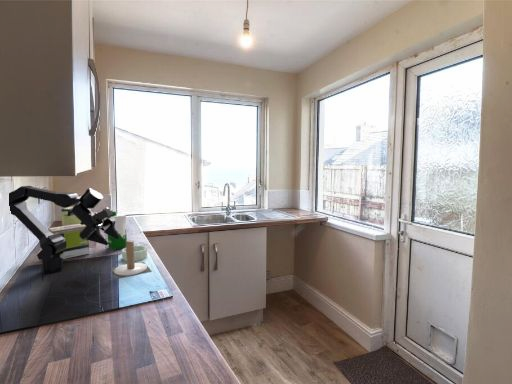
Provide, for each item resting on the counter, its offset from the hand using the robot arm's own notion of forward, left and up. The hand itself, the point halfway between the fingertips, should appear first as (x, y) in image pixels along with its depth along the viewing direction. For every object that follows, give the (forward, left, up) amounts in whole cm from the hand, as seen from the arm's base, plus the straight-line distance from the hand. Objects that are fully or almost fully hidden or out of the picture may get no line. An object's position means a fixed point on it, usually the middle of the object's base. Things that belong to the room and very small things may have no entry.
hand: (113, 241), depth 122 cm
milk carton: (+7, +37, -13) cm, 40 cm away
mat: (+6, -4, -13) cm, 15 cm away
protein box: (-9, +101, -13) cm, 102 cm away
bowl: (+11, +13, -13) cm, 21 cm away
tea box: (-15, +36, -13) cm, 41 cm away
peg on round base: (+6, -4, -13) cm, 14 cm away
